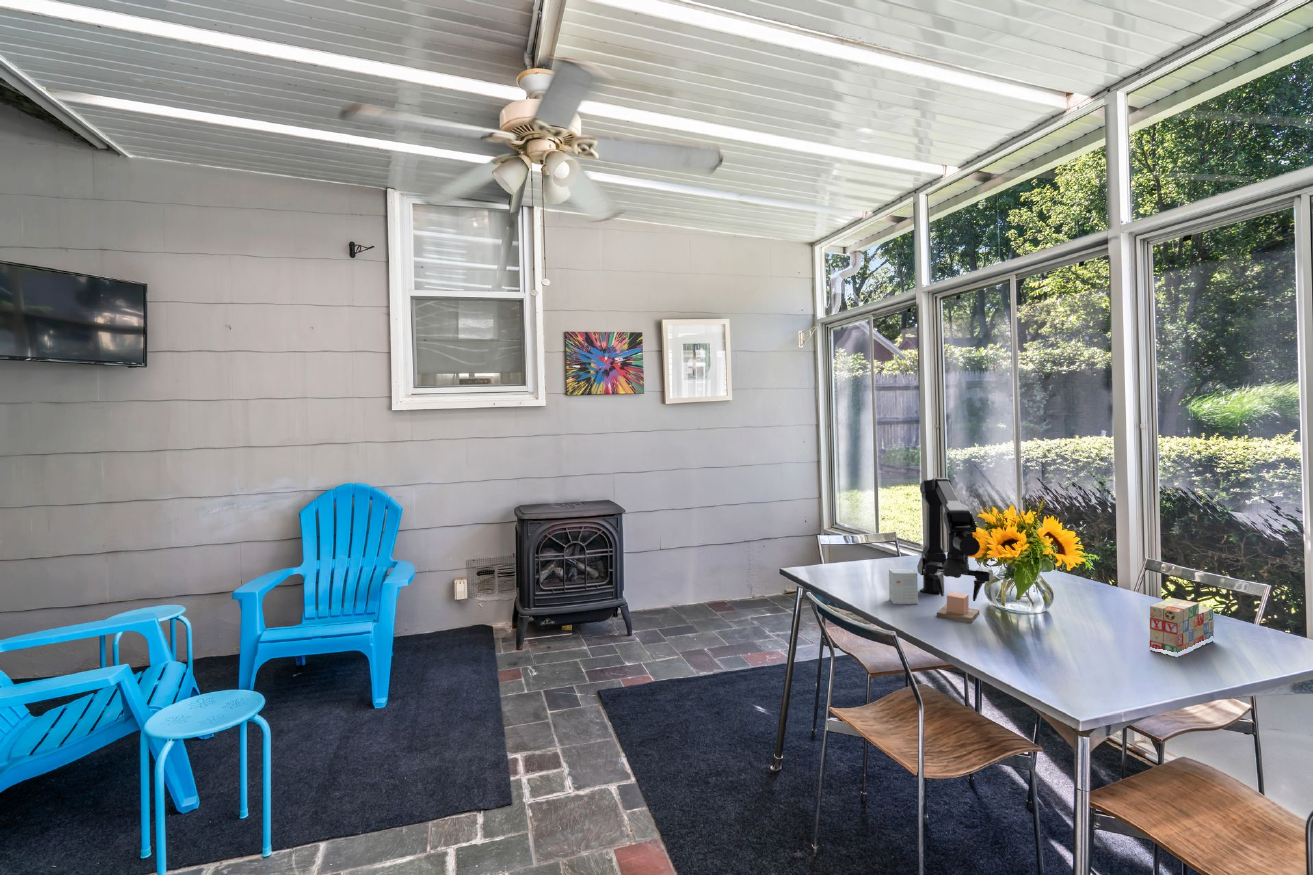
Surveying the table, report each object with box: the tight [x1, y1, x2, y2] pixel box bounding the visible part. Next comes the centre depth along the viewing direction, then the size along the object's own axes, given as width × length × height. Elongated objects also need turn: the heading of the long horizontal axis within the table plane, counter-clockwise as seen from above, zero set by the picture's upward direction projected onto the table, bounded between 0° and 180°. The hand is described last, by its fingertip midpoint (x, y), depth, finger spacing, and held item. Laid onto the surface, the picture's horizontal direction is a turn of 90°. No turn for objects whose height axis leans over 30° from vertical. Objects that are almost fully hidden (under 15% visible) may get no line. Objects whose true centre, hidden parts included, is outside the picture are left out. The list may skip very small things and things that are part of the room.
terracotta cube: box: [946, 591, 970, 614], centre depth 202 cm, size 5×5×5 cm
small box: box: [888, 568, 919, 605], centre depth 217 cm, size 8×6×10 cm
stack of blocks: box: [1149, 597, 1215, 653], centre depth 173 cm, size 21×6×12 cm, turn 120°
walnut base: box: [936, 604, 980, 624], centre depth 202 cm, size 10×10×2 cm
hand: (958, 598), depth 202 cm, fingers open, 9 cm apart
